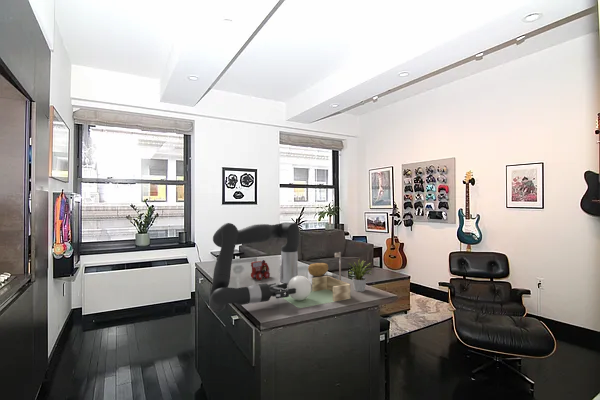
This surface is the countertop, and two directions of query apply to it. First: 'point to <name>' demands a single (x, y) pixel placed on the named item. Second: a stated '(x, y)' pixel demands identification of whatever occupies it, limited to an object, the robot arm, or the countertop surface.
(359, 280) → the house plant
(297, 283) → the ball
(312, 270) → the potato
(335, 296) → the wooden u-shaped frame
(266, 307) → the countertop surface
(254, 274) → the toy fire truck
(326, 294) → the green mat
